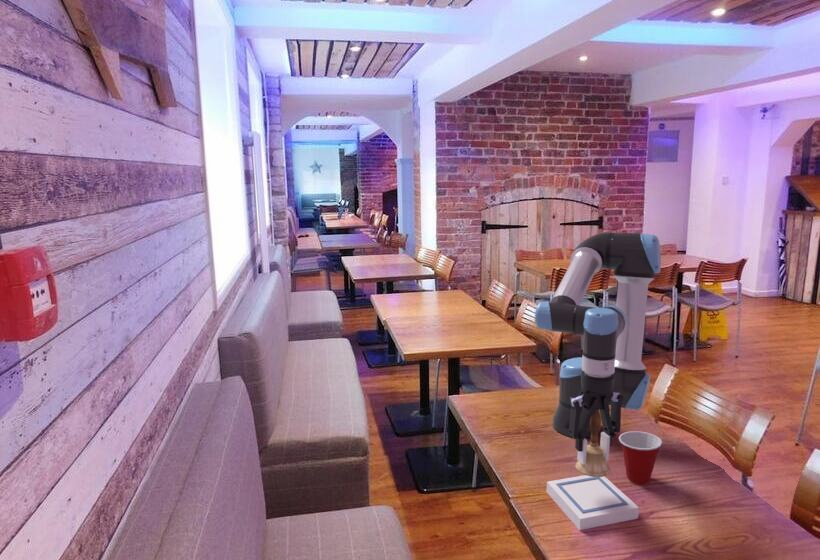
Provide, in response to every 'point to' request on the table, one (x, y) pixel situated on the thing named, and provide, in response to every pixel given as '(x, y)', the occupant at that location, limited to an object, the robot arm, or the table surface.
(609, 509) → the display board
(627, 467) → the plastic cup
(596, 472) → the hand bell
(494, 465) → the table surface
